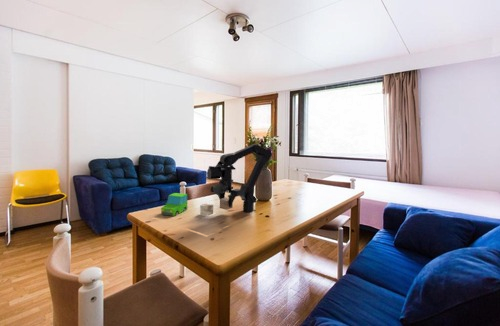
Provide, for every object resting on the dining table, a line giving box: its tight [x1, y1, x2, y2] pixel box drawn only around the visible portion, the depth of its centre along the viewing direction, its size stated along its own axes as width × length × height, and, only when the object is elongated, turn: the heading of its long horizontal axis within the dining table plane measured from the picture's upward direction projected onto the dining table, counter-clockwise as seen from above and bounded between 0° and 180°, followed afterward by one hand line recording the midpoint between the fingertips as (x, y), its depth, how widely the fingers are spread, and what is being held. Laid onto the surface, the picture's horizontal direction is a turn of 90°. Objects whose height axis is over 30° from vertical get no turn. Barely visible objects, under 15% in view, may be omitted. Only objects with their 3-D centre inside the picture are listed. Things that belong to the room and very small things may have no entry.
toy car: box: [160, 192, 188, 217], centre depth 131 cm, size 10×13×10 cm
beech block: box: [199, 202, 214, 217], centre depth 130 cm, size 5×5×5 cm
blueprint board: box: [198, 212, 217, 218], centre depth 131 cm, size 14×10×1 cm
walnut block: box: [219, 196, 234, 211], centre depth 129 cm, size 5×5×5 cm
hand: (226, 205), depth 130 cm, fingers closed on walnut block, 5 cm apart
